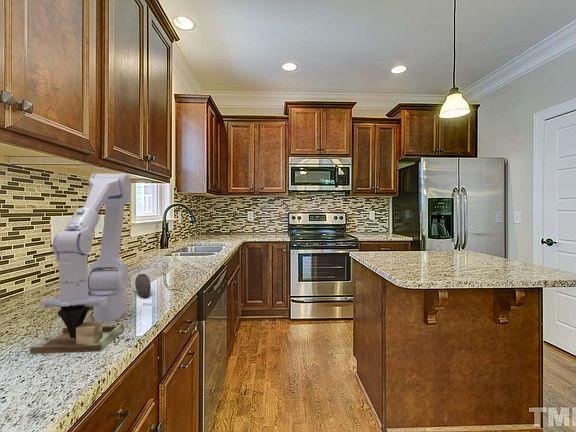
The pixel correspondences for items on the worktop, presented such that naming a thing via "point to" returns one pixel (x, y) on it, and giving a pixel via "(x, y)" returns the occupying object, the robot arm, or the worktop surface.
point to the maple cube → (89, 333)
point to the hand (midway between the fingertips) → (75, 336)
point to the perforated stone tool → (143, 285)
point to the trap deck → (69, 345)
